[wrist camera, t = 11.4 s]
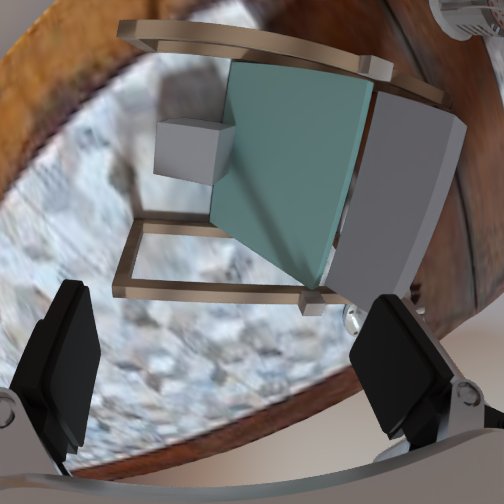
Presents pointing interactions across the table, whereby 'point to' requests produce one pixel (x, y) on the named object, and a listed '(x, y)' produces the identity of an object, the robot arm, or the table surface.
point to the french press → (468, 17)
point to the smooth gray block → (193, 150)
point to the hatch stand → (123, 286)
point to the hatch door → (334, 177)
